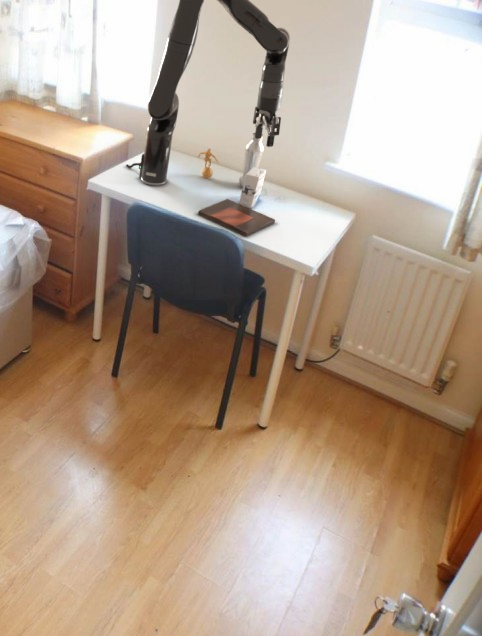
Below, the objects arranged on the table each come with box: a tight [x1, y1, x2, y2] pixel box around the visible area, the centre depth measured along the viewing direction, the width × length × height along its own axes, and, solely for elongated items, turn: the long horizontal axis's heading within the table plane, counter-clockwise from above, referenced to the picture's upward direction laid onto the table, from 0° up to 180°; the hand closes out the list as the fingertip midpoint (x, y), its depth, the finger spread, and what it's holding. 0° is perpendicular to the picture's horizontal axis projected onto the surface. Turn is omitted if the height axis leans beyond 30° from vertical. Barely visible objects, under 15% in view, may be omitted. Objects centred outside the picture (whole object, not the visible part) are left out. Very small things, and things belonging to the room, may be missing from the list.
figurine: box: [197, 148, 219, 179], centre depth 265 cm, size 8×6×12 cm
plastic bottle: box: [238, 132, 265, 188], centre depth 258 cm, size 6×7×20 cm
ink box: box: [238, 167, 267, 209], centre depth 249 cm, size 9×5×12 cm, turn 148°
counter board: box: [197, 198, 276, 238], centre depth 241 cm, size 20×16×2 cm
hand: (263, 142), depth 242 cm, fingers open, 8 cm apart
